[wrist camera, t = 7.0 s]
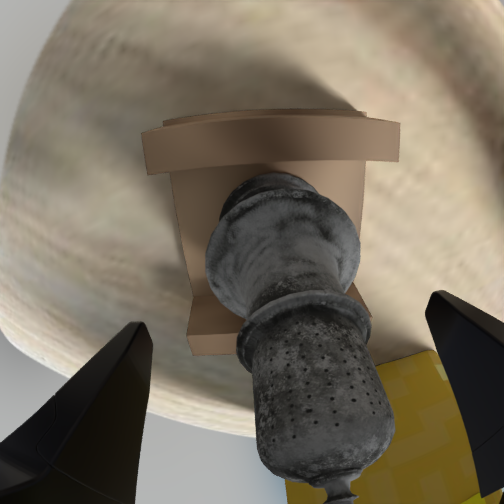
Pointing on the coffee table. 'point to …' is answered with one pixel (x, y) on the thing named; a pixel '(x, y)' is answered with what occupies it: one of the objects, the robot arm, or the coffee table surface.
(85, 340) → the coffee table surface
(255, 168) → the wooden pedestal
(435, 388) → the book
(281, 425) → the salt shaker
